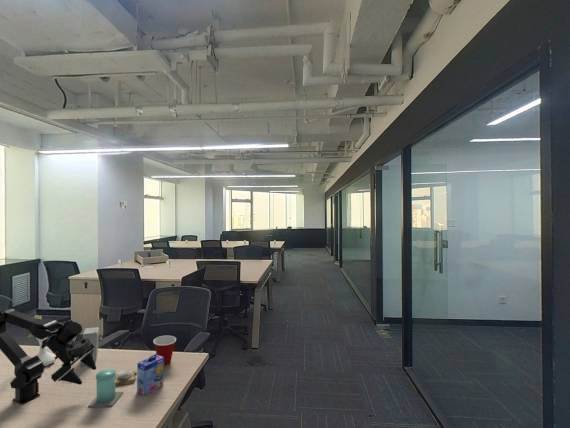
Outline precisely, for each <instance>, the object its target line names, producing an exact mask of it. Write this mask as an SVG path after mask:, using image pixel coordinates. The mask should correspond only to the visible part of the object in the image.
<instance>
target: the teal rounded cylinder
mask: <svg viewBox="0 0 570 428" xmlns="http://www.w3.org/2000/svg"><path fill="white" fill-rule="evenodd" d="M116 374H117V372H116V370H115V369H114V368H107V369H104V370H100V371H99V372H97V373H96V375H95V379H96V397H97V402H98V403H106V402H109V401H111V400H113V399H114V398H115V392H116V386H115V376H116Z"/></svg>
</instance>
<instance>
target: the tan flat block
mask: <svg viewBox="0 0 570 428" xmlns="http://www.w3.org/2000/svg"><path fill="white" fill-rule="evenodd" d="M136 376H137V371H136V370H130V369H129V370H128V369H125V370H122V371H120V372H118V373H116V374H115V387H118V386H123V385H128V384H134V383H135V382H136V381H135V380H136Z"/></svg>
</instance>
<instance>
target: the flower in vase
mask: <svg viewBox="0 0 570 428" xmlns="http://www.w3.org/2000/svg"><path fill="white" fill-rule="evenodd" d="M33 317H34V318H37V319H43V318H42V315H38V314H36V315H34V316H33ZM33 337H34V336H33V335H31V333H29V334H28V336H27V337H26V338H33ZM35 339H36V340H37V341H38V343H39V351H38V353H36V355H35V356H38V357H39V359H40V360H41V361H43V364H44V366H45V367H46V366H48V365H51V364H53V363H54V362H56V360H57V359H55V358H54V357H56V355H55V354H54V353H53V352H52V353H51V352H49V351H47V348H46V347H44V348H43V349H42V348H41V346H42V341H44V340H45V339H49V337H46V338H44V339H38V338H36V337H35Z"/></svg>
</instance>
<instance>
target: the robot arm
mask: <svg viewBox="0 0 570 428" xmlns="http://www.w3.org/2000/svg"><path fill="white" fill-rule="evenodd" d="M7 323H8V324H11V325H13V326H16V327H19V328H22V329H24V330H27V331H29V334H31V335H33V337H34V338H35V339H36V338H38V339H44V338H46V337H48V338H47V339H45V340H44V341H42V346H41V348H42V349H43V348H44V347H45V348H46V347H47V348H48V349H49V350H50V351H51V352H52V354H54V355H55V356H56V357H54V358H55V359H56V360H59V361H61V363H62V364H61V366H60V367H59V368H58V369H57V370H56V371H54V373H52V374H51V375H50V377H51V378H50V379H51V380H52V381H53V382H57V381H58V382H60V381H62V382H68V383H71V384H72V383H73V384H76V385H80V386H81V385H82V384H83V381H82V379H80V377H79V376H78V375H77V374H76V373H75V367H72V366H74V364H76V362H77V361H79V362H82V363H84V364H85V365H84V366H87V367H88V368H90V369H91V370H93V371H95V370H97V365H96V363H94V360H93V356H92V354H93V351H94V349H93V348H94V347H95V346H94V345H93V344H91V341H90V340H89V339H88V338H84V339H83V338H82V340H80V342H79V343H77V344H76V343H74V342H72V343H70V342H71V341H73V339H75V338H76V337H77V336H79V335H80V334H81V333H82V332H83V327H82V324H80V323H78V322H77V321H73V320H72V319H69V320H67V321H66V322H65V323H61V322H58V320H55V319H51V318H42V319H37V318H34V316H31V315H28V314H27V313H23V312H20V311H17V310H15V309H14V308H8V309H4V310H1V311H0V351H1V352H2V353H3V354H4V356H6V358H7V359H8V360H9V361H10V362H11V364H12V365H13V366H14V372H13V373H14V376H15V378H13V380H12V381H10V383H9V385H10V389H14V395H15V396H14V398H13V399H12V401H13V402H15V403H17V404H21V405H24V404H26V403H27V402H29V401H32V400H34V399H36V398H38V397H40V396H41V393H39V389H40V387H39V386H40V384H39V382H38V380H39V379H41V378H42V375H43V374H44V372H45V367H46V366H44V364H43V361H41V360H40V359H39V357H38V356H36V355H34V356H29V355H28V354H27V352H26V351H25V350H24V349H23V348H22V347H21V346H20V344H18V343H17V341H16V340H15V339H14V338H13V337H12V335H11V334H10V333H9V332H8V330H7ZM38 339H37V340H38ZM92 349H93V350H92ZM91 350H92V351H91Z"/></svg>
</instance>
